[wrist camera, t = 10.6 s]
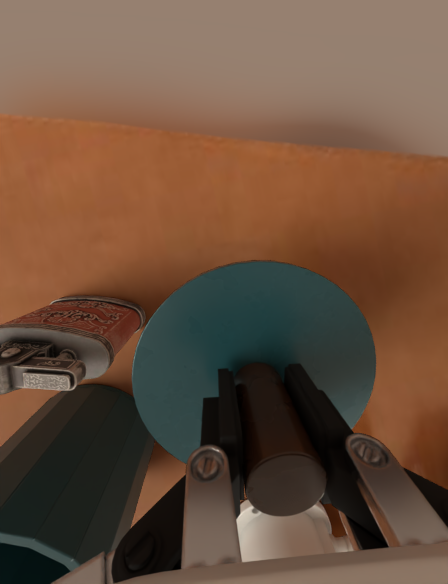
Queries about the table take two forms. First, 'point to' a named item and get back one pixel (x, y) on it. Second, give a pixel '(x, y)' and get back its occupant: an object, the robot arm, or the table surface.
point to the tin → (70, 483)
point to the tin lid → (255, 370)
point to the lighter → (65, 342)
